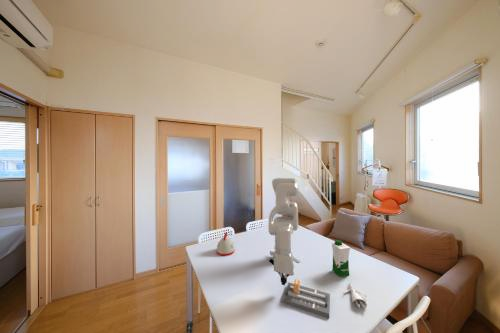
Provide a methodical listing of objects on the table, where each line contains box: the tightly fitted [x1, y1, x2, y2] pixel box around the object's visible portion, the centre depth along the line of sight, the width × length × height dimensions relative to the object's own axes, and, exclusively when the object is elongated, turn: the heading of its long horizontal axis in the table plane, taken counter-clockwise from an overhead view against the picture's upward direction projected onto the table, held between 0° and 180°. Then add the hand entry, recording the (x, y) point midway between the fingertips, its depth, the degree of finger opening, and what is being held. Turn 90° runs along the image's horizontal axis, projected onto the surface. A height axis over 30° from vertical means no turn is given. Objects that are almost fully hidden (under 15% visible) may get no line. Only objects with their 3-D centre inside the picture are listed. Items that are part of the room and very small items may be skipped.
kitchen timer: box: [216, 231, 235, 257], centre depth 145 cm, size 14×14×15 cm
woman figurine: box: [342, 283, 368, 309], centre depth 95 cm, size 12×4×18 cm
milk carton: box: [331, 239, 351, 278], centre depth 116 cm, size 9×9×20 cm
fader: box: [293, 278, 301, 295], centre depth 96 cm, size 3×4×6 cm
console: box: [281, 281, 331, 319], centre depth 94 cm, size 22×14×3 cm, turn 65°
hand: (283, 283), depth 98 cm, fingers closed
